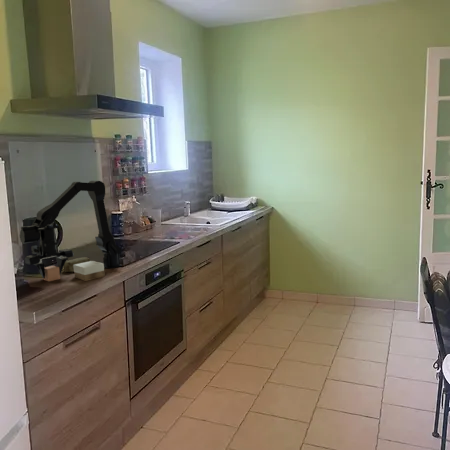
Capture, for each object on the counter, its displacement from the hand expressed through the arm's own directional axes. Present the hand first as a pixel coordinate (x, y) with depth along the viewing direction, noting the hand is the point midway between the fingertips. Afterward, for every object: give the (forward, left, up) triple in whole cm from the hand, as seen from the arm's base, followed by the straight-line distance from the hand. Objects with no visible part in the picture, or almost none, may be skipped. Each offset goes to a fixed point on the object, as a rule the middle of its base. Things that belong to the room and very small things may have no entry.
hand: (51, 276), depth 194 cm
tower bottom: (-12, +10, -2) cm, 16 cm away
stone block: (-15, -6, -1) cm, 16 cm away
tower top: (-12, +10, +1) cm, 16 cm away
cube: (0, 0, -1) cm, 1 cm away
